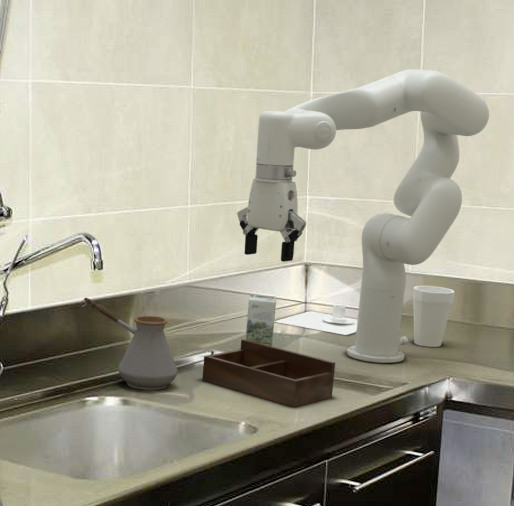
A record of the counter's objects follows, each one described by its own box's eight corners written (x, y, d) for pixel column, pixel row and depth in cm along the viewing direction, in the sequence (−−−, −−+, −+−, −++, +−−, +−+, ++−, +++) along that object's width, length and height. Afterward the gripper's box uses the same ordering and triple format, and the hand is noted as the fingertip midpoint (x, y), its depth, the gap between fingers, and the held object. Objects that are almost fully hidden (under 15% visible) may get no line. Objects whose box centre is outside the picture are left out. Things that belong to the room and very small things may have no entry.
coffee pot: (187, 384, 238) (192, 308, 234) (158, 396, 228) (162, 317, 224) (94, 365, 247) (98, 293, 243) (63, 376, 238) (66, 300, 234)
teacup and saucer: (344, 327, 300) (345, 311, 299) (315, 322, 304) (316, 306, 303) (359, 322, 307) (360, 306, 306) (330, 317, 312) (332, 301, 310)
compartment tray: (241, 372, 250) (244, 338, 248) (332, 397, 235) (335, 362, 233) (202, 380, 241) (204, 346, 240) (293, 407, 226) (296, 370, 224)
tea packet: (271, 362, 260) (276, 295, 256) (270, 369, 254) (276, 300, 250) (244, 360, 260) (249, 293, 256) (242, 366, 255) (248, 298, 251)
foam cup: (453, 344, 290) (460, 290, 286) (439, 350, 282) (446, 295, 279) (416, 337, 294) (422, 284, 291) (401, 343, 287) (407, 288, 283)
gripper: (319, 177, 244) (312, 262, 248) (253, 168, 255) (248, 250, 260) (296, 178, 238) (289, 265, 243) (229, 170, 250) (224, 253, 254)
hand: (268, 257), depth 251 cm, fingers open, 9 cm apart
